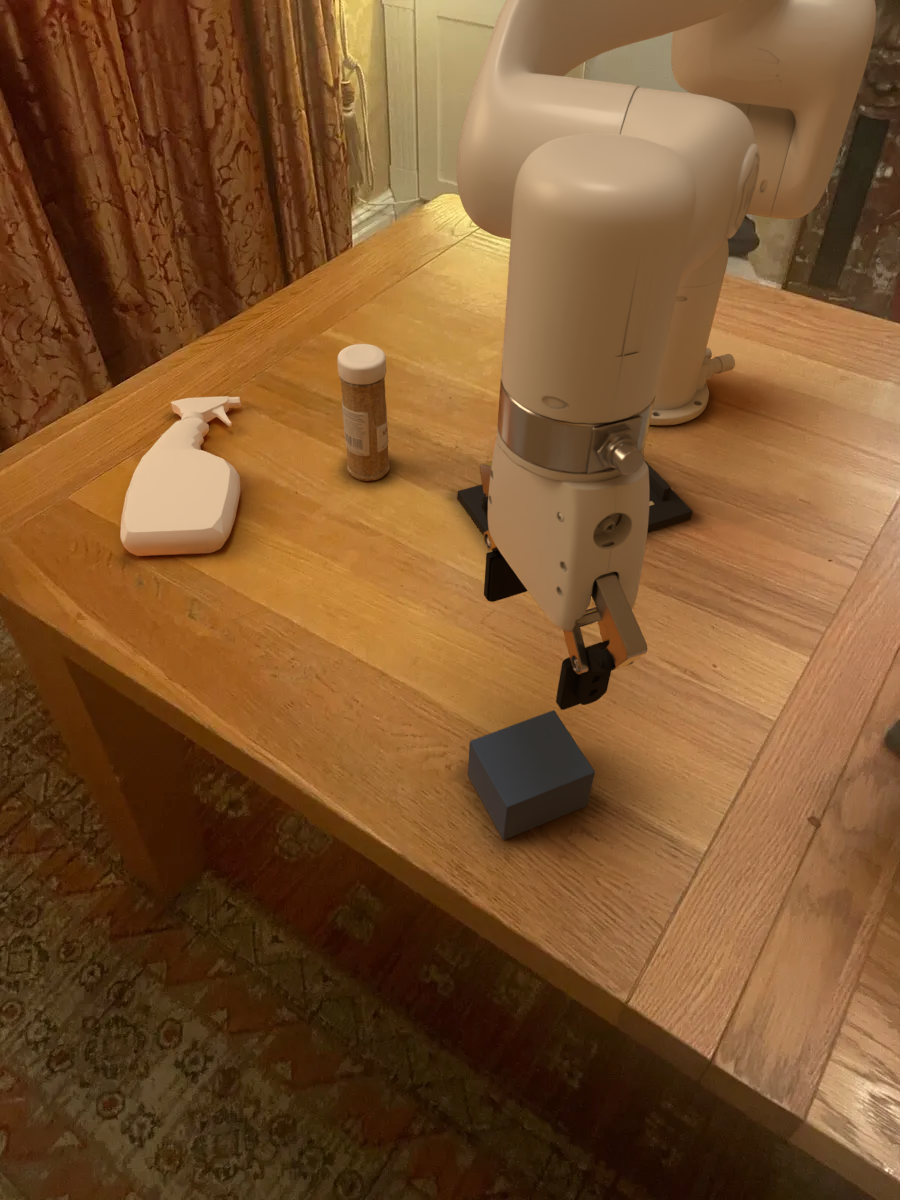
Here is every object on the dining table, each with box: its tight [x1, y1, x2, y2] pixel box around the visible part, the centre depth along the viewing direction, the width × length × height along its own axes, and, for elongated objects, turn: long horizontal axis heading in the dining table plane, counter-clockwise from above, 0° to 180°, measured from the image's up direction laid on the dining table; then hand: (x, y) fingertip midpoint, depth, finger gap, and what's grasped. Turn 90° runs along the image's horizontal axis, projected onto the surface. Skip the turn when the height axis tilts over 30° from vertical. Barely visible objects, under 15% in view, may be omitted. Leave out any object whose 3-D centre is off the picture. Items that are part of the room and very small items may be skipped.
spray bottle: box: [119, 395, 242, 557], centre depth 92 cm, size 3×11×24 cm
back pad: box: [467, 709, 596, 841], centre depth 66 cm, size 7×6×4 cm
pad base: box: [457, 459, 694, 536], centre depth 88 cm, size 20×12×6 cm, turn 114°
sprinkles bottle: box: [337, 343, 391, 482], centre depth 89 cm, size 5×5×13 cm
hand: (541, 643), depth 57 cm, fingers open, 9 cm apart
